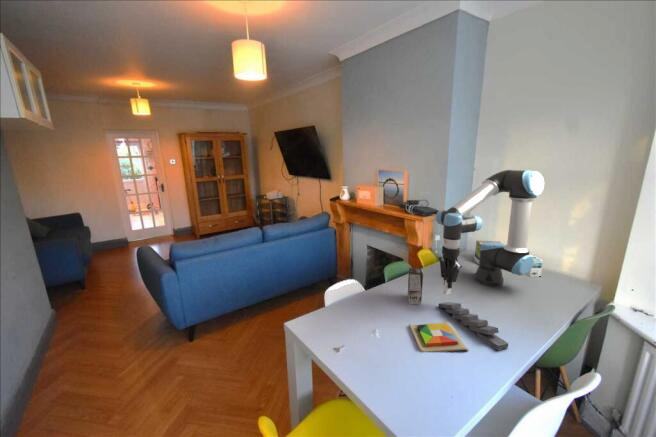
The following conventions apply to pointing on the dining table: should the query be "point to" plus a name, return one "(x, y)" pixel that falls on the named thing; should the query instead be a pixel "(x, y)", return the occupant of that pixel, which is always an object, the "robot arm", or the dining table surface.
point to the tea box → (478, 247)
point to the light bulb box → (536, 267)
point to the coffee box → (415, 285)
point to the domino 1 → (450, 305)
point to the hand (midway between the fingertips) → (447, 293)
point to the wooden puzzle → (437, 337)
